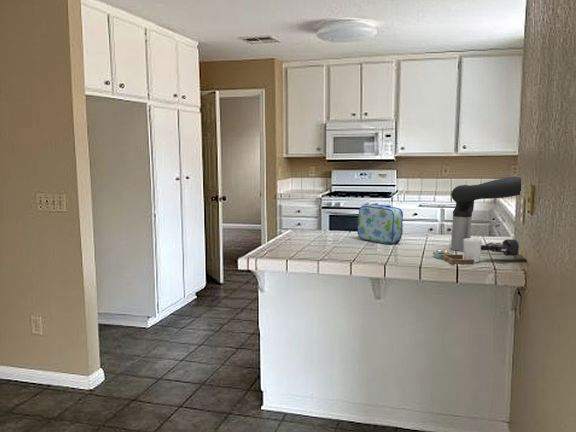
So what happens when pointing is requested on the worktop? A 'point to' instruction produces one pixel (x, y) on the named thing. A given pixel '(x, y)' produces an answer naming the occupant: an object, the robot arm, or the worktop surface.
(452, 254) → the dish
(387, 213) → the lunch box
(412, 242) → the worktop surface
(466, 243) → the white cup
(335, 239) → the worktop surface
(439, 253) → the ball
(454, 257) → the cradle
